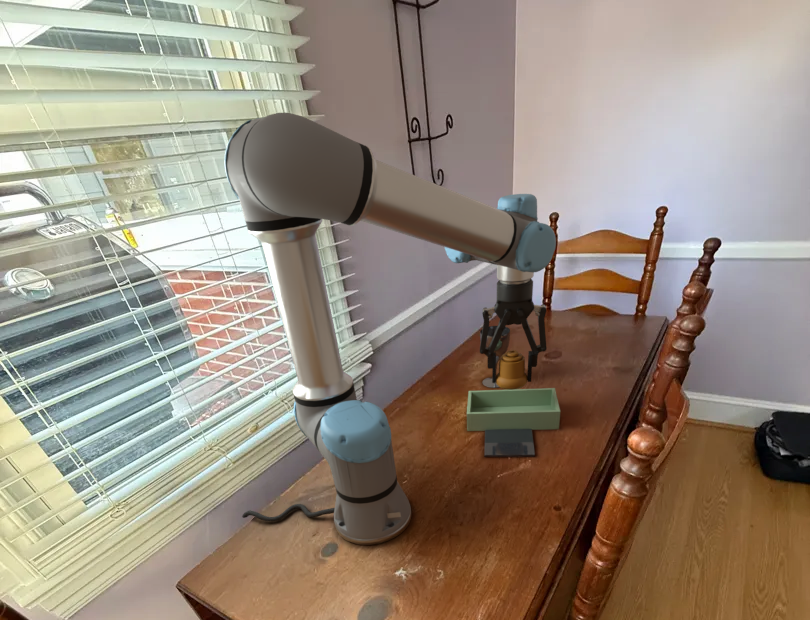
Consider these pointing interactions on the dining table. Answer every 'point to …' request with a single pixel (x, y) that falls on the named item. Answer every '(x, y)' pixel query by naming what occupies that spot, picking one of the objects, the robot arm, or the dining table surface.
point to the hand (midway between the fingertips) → (511, 379)
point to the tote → (513, 409)
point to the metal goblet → (496, 349)
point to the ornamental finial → (511, 371)
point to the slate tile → (509, 443)
